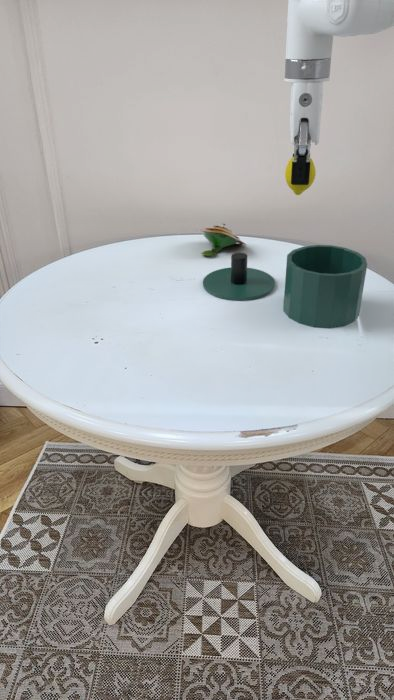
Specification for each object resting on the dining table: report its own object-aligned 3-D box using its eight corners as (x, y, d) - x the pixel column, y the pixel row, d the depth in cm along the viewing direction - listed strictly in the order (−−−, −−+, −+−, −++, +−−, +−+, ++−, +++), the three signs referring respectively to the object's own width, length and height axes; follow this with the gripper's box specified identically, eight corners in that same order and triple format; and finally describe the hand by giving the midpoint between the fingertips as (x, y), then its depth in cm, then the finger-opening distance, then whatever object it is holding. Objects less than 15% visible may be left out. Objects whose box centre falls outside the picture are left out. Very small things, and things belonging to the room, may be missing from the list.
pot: (354, 297, 103) (362, 246, 98) (361, 333, 92) (370, 277, 86) (283, 294, 105) (287, 243, 100) (282, 328, 94) (286, 273, 88)
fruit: (319, 195, 100) (323, 150, 96) (297, 200, 98) (300, 155, 93) (299, 188, 104) (302, 146, 100) (277, 194, 102) (279, 150, 97)
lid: (275, 273, 114) (277, 243, 110) (273, 305, 101) (275, 272, 98) (208, 270, 116) (207, 240, 112) (197, 301, 103) (196, 268, 100)
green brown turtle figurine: (247, 265, 117) (258, 227, 116) (189, 248, 116) (199, 210, 115) (237, 269, 132) (246, 235, 131) (185, 254, 130) (194, 220, 130)
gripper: (332, 75, 82) (321, 193, 92) (328, 66, 97) (319, 169, 106) (283, 76, 83) (277, 192, 93) (286, 67, 98) (281, 168, 107)
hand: (299, 178), depth 99 cm, fingers closed on fruit, 5 cm apart
